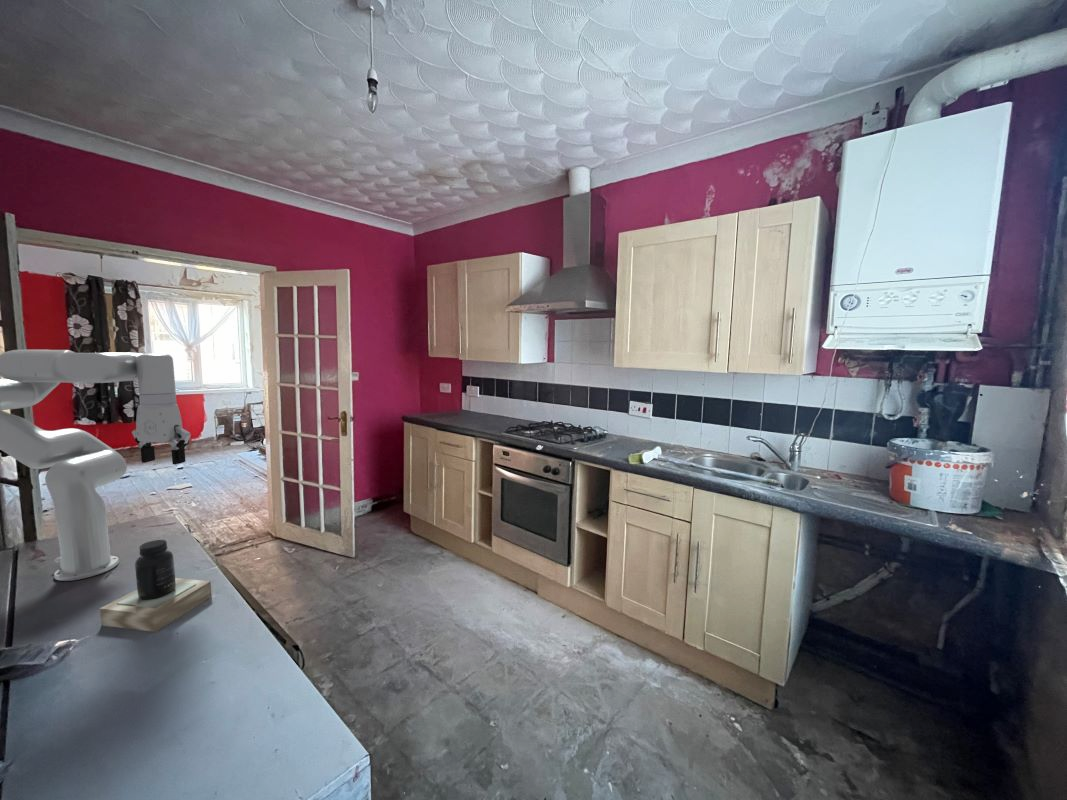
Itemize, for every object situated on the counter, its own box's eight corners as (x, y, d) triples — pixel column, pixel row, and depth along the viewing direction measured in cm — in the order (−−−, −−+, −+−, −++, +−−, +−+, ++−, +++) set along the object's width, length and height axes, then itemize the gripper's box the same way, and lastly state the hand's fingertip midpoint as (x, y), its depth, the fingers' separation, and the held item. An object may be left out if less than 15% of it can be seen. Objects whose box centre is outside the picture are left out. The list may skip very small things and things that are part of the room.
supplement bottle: (129, 599, 101) (124, 548, 100) (160, 583, 108) (156, 536, 106) (154, 602, 100) (149, 551, 98) (183, 586, 106) (179, 539, 105)
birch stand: (101, 625, 98) (99, 607, 98) (163, 591, 112) (161, 575, 112) (155, 631, 96) (153, 613, 96) (211, 596, 110) (210, 580, 110)
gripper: (116, 400, 116) (122, 464, 118) (172, 402, 114) (178, 467, 116) (145, 397, 124) (150, 457, 126) (198, 399, 121) (203, 460, 123)
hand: (163, 462), depth 121 cm, fingers open, 9 cm apart
